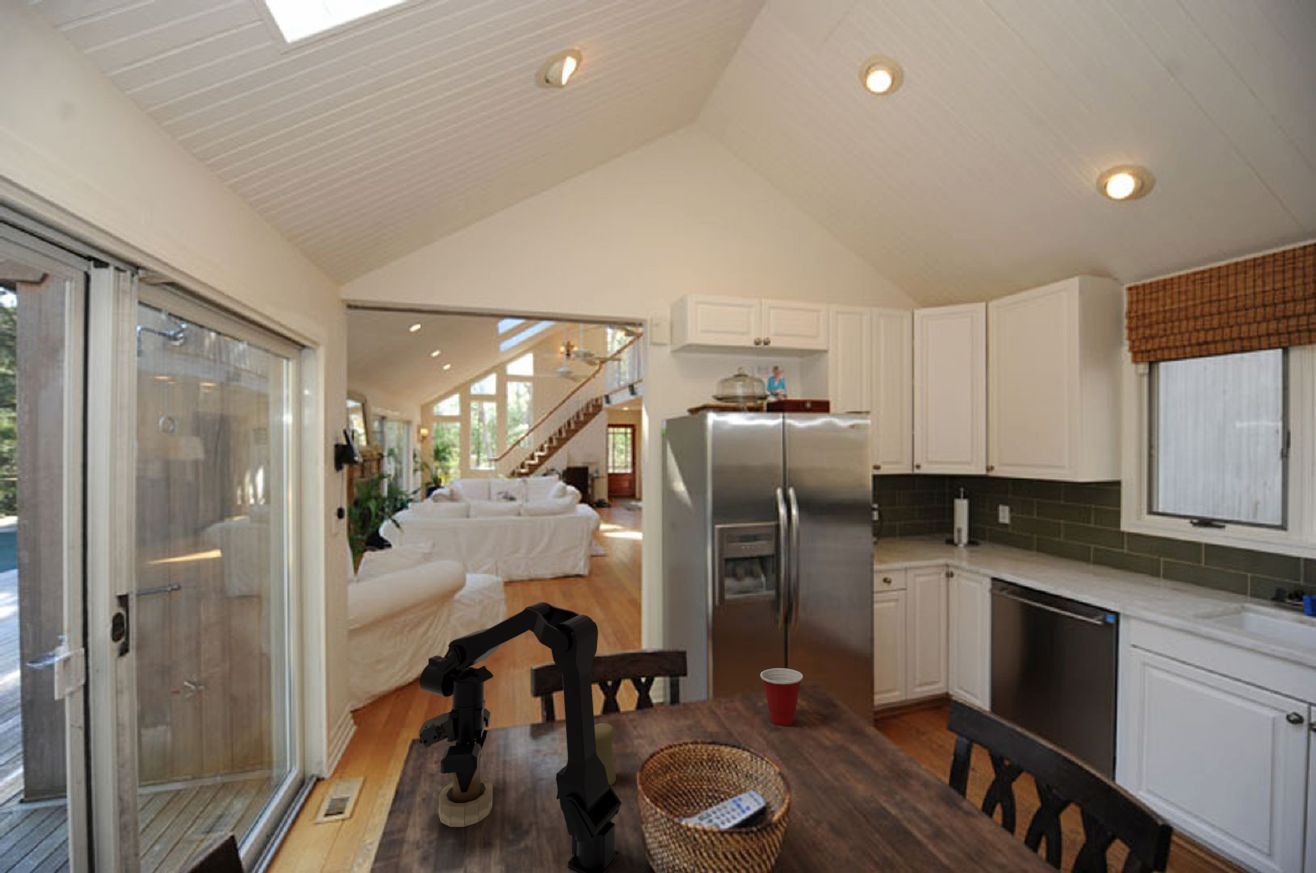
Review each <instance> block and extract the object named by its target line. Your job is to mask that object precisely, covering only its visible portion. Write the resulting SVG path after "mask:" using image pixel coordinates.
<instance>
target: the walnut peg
mask: <svg viewBox="0 0 1316 873" xmlns="http://www.w3.org/2000/svg"><path fill="white" fill-rule="evenodd" d="M469 744H470V743H469ZM475 744H476V745H477V746H478V747H479V748H480V755H481V757H480V761H479V764H478V767H477V769H476V771H475V774H474V776H473V778H472V781H471V783H470V786H469V789H468V791H467V792H465V793H462V792H461V790H460V787H459V783H458V780H457V776H456V773H452V782H453V799H452V800H453V803H467V802H470V801H474V800H476V799H478V798H479V797H480V777H481V772H482V771H481V768H482V766H481V764H482V760H481V759H482V750H481V746H480V744H478V743H475Z"/></svg>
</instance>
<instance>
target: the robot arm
mask: <svg viewBox="0 0 1316 873" xmlns="http://www.w3.org/2000/svg"><path fill="white" fill-rule="evenodd" d="M528 632H532V633H533V634H534V636H535V637H536V639H537V640H538V642H539V643H540V644H542V645H543V646H545V647H547V648H549V649H550V650H551V657H552V660H553V663H554V664H555V665H556V667H557V668H558V669H559V671H560V673H561V675H562V676H561V677H562V687H563V688H562V691H563V706H564V721H565V735H566V737H565V738H566V752H567V762H566V765H564V766H563V767H562V768H561V769H560V770H558V771H557V772H556V774H555V782H556V788H557V793H556V800H559V806H560V810H561V812H562V815H563V817H564V821H565V825H566V829H567V833H568V835H569V836H571V855H572V857H571V858H570V859H569V860H568V861H567V867H568V868H570V869H572V870H574V871H577V872H579V873H607V872H608V870H610V868H611V867H612V866H613V864H614V863H615V862H616V861H617V860H618V858H620V851H618V850H616V849H615V844H616V843H615V840H616V839H615V837H616V836H615V831H616V829H615V828H616V826H615V823H614V822H612V820H613V819H614V818H615V817H616V816H617V815H618V814H619V813H620V810H621V807H622V804H623V802H622V801H621V799H620V797H619V796H618V795H617V793H616V792H615V791H614V789H613V787H612V785H611V786H610V784H609V783H608V779H607V774H606V769H605V766H604V764H603V763H602V761H601V760H600V758H599V757H598V755H597V752H596V740H595V726H594V725H595V714H594V700H593V699H594V698H593V685H592V682H593V681H592V666H593V664H594V660H595V657H596V655H597V651H598V650H597V649H598V640H599V639H598V638H599V629H598V625H597V623H596V622H595V621H594V620H593V619H592V618H591V617H589V616H588V615H585V614H580V613H577V612H576V611H573V610H569V609H565V608H561V607H557V606H554V605H552V604H550V603H548V602H545V601H540V602H537V603H534V604H531V605H529V606H527V607H525V608H524V609H523V610H521V611H520V612H518V613H516V614H514V615H511V616H510V617H508V618H507V619H505V620H503V621H501V622H499V623H496V624H495V625H492V626H491V627H489V628H484V629H481V630H480V629H479V630H476V631H474V632H471V633H469V634H466V635H464V636H461V637H458V638H455V639H453V640H451V641H450V642H449V643H448V645H447V646H448V649H447V651H446V653H445V655H444V656H443V657H442V656H441V655H438V654H436V655H434V656H431V657H428V662H427V665H426V666H425V667H424V668H423V670H422V672H421V674H420V677H419V679H418V680H419V682H418V684H419V688H420V689H421V690H422V691H424V692H426V693H430V694H433V695H437V696H442V697H446V698H449V697H452V704H451V705H452V707H451V710H450V711H448V712H444V713H442V714H440V715H437V716H434V717H432V718H429V719H427V720H425V721H424V723H422V725H421V727H420V728H419V731H418V733H419V734H418V737H419V739H418V744H420V745H423V748H425V749H427V748H430V747H432V746H433V745H434V744H437V743H439V742H441V741H443V740H447V741H446V742H447V743H454V742H456V743H455V745H449V746H448V748H446V750H445V751H444V752H443V755H442V757H441V760H440V773H441V774H445V775H446V774H453V773H456V776H457V780H458V783H459V787H460V790H461V792H462V793H465V792H467V791H468V789H469V786H470V783H471V781H472V778H473V776H474V774H475V771H476V769H477V767H478V764H479V761H480V757H481V758H482V754H481V755H480V748H479V747H478V746H477V745H476V744H475V743H478V744H480V746H481V751H482V749H483V747H484V744H485V742H486V739H487V735H488V732H489V731H488V730H487V729H485V728H489V727H490V723H491V712H490V711H489V710H488V709H487V708H485V707H486V699H485V682H486V681H489V680H491V679H493V678H494V674H493V673H492V672H491V671H490V670H489V669H488V668H487V667H486V666H485V665H482V666H481V667H479V668H477V667H473V666H474V665H476V664H478V663H481V662H483V661H485V660H486V659H489V657H490V656H491V655H493V654H494V653H495V652H496V651H497V650H498V648H499V647H501V646H502V645H504V644H506V643H507V642H510V641H511V640H514V639H516V638H518V637H520V636H521V635H524V634H526V633H528ZM469 743H470V744H469Z"/></svg>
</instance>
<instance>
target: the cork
mask: <svg viewBox="0 0 1316 873" xmlns="http://www.w3.org/2000/svg"><path fill="white" fill-rule="evenodd" d="M594 726H595V740H596V752H597V755H598V757H599V758H600V760H601V761H602V763H603V764H604V766H605V769H606V774H607V779H608V783H609V784H610V786H611V787H612V786H613V785H614V784H615V782H616V779H617V776H616V767H615V758H614V750H613V749H614V748H613V742H614V738H615V729H614V727H613V726H612V725H611V724H609V723H605V722H600V723H597V724H594Z"/></svg>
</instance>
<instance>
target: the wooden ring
mask: <svg viewBox="0 0 1316 873" xmlns="http://www.w3.org/2000/svg"><path fill="white" fill-rule="evenodd" d="M493 792H494V791H493V785H492V783H491V781H490V780H488V779H486V778H484V777H481V776H480V797H479V798H478V799H476V800H474V801H470V802H467V803H453V800H452V799H453V781H451V782H450V783H448V784H447V785H446V786H445V787H443V789H442V790H441V791H440V794H439V795H438V817H439V821H440V823H442V824H444V825H445V826H448V827H449V828H450V827H451V828H463V827H468V826H471V825H474V824H477V823H479V822H481V821H482V820H484V819H485V818H486V817H487V816H489V814H490V812H491V810H492V808H493V795H494V794H493Z"/></svg>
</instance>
